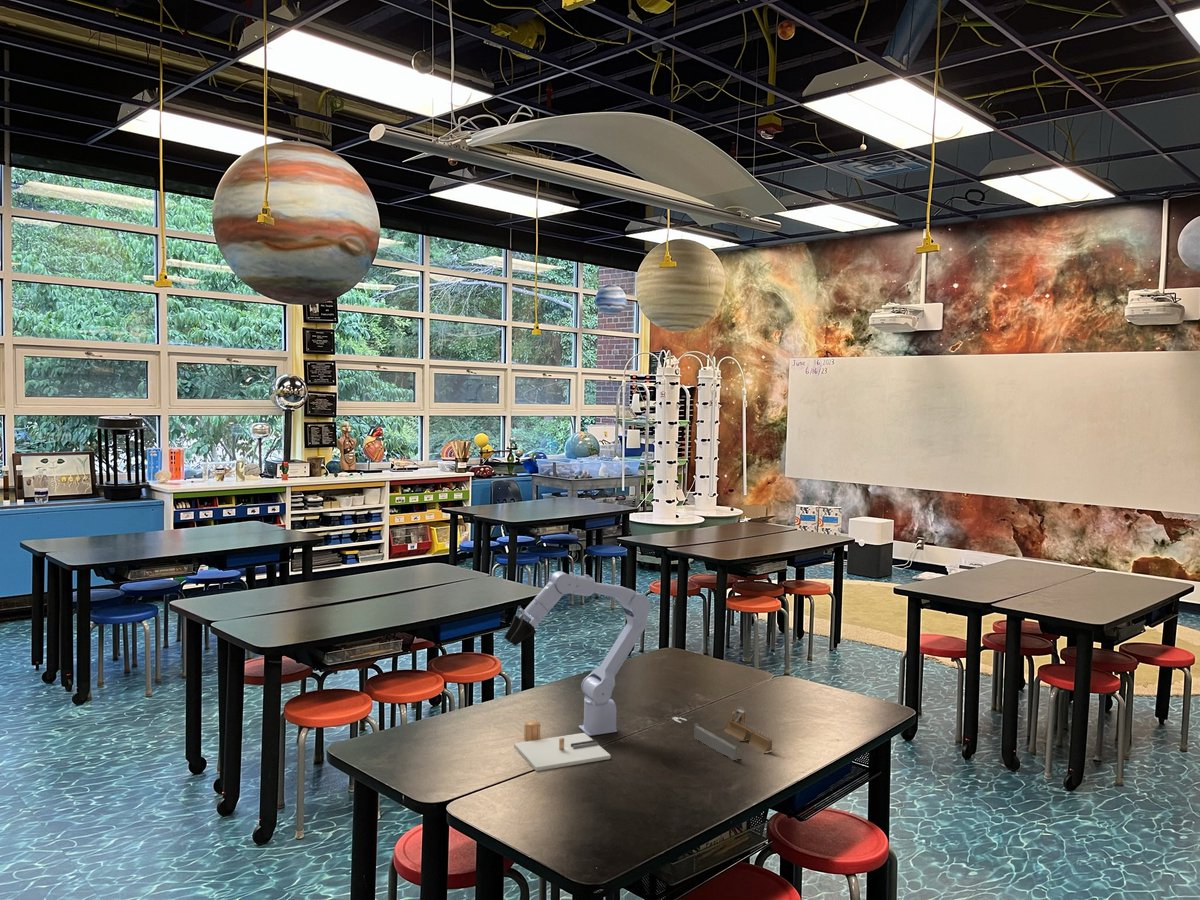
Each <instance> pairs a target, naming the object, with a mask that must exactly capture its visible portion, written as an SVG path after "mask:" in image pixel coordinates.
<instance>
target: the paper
mask: <svg viewBox="0 0 1200 900" xmlns="http://www.w3.org/2000/svg"><path fill="white" fill-rule="evenodd" d="M671 719H672V720H673V721H675V722H677V723H678V724H679V723H680V724H682V721H680V720H683V721H688V719H686V718H682V716H680V717H678V716H673V717H672V718H671Z"/></svg>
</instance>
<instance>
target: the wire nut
mask: <svg viewBox="0 0 1200 900" xmlns="http://www.w3.org/2000/svg"><path fill="white" fill-rule="evenodd" d="M523 725H524V727H523V728H524V730H523V731H524V734H523V737H524V738H523V739H524V740H525V741H533V740H540V739H541V722H540V721H538V720H527V721H525V722H524V724H523Z"/></svg>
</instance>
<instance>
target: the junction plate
mask: <svg viewBox="0 0 1200 900" xmlns="http://www.w3.org/2000/svg"><path fill="white" fill-rule="evenodd" d="M513 747H514V748H515V749H516V751H517V752H518V753H519V755H521V757H522V758H524V760H525V761H526V762H527V763H528V764H529V765H530V766H531V767H532V769H533V770H534V771H535V772H540V771H545V770H552V769H556V768H563V767H569V766H574V765H575V766H577V765H581V764H588V763H593V762H594V763H595V762H599V761H604V760H610V759H611V754H610V753H609V752H607V751H606V750H605V749H604V748H603V747H602V746H601V745H599V742H598V741H596V740H595V739H592V737H591V736H588V735H587V734H586V733H585V732H582V733H574V734H568V735H567V734H566V735H561V736H560V735H559V736H553V737H546V738H540V739H539V740H533V741H527V740H525V741H521V742H515V743H513Z"/></svg>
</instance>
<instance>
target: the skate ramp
mask: <svg viewBox="0 0 1200 900" xmlns="http://www.w3.org/2000/svg"><path fill="white" fill-rule="evenodd" d="M735 714H736V715H735ZM723 731H725V732H726V733H728V734H731V735H733V736H735V737H737V738H739V739H741V740H746V739H749V741H748V743H749V744H751V745H753V746H755V747H757V748H759V749H761V750H763V751H765V752H766V751H770V750H773V739H771V738H772V736H770V735H768V734H767V733H766V734H765V733H764V732H762V731H761V730H758V729H757V728H754V727H753V726H750V725H749V727H748V723H747V724H746V709H744V707H741V708H739V707H738V706H736V709H735V710H732V711H731V713H730V716H729V719H728V721H727V725H726V727H725V728H724V730H723ZM750 735H751V736H750ZM694 738H695V739H694ZM693 739H694V740H696V739H697V740H696V741H698V740H699V741H701V742H702V743H701V742H700V743H701V744H703V743H704V744H706V745H708V746H709V747H708V746H707V747H708V748H710V747H711V748H713V749H715V750H716V751H715V750H714V751H715V752H717V751H718V752H720V753H722V754H724V755H726V756H728V757H730V758H731V759H733V760H734V759H737V758H741V757H740V755H739V754H738V745H734V744H732V743H730V742H729V741H727V740H725V739H723V738H721V737H719V736H717V735H716V734H714V733H712V732H710V731H708V730H706V728H703V727H702V726H701V727H700V726H699V724H698V722H696V723H694V724H693ZM699 741H698V742H699ZM704 744H703V745H704ZM706 745H705V746H706ZM711 748H710V749H711ZM713 749H712V750H713ZM718 752H717V753H718ZM720 753H719V754H720ZM722 754H721V755H722Z"/></svg>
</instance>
